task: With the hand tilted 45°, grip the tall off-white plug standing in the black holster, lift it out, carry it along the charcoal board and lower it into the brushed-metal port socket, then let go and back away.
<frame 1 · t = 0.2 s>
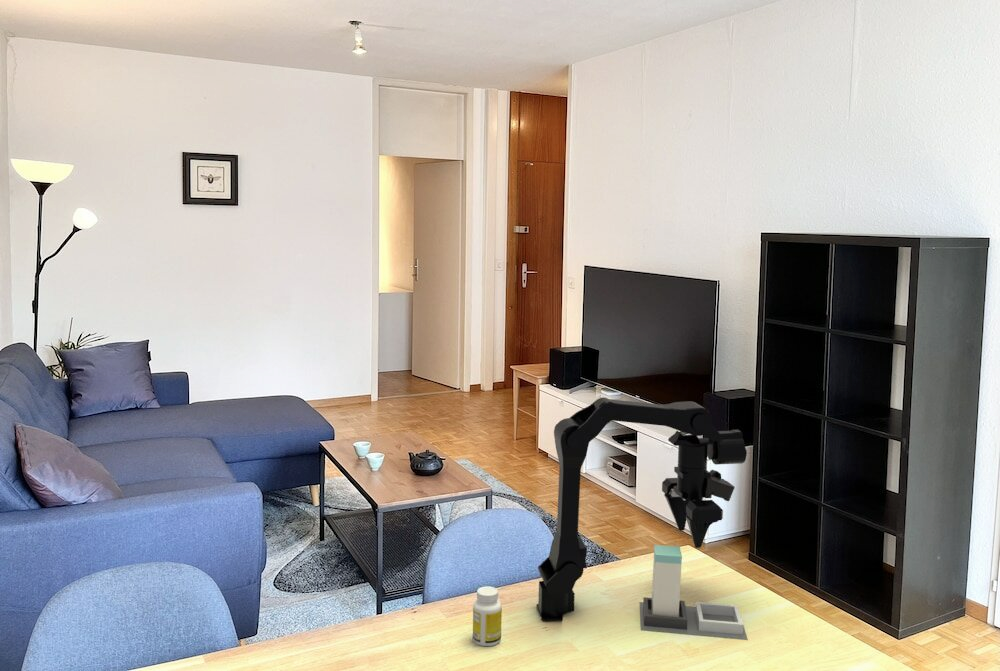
hand: (689, 538, 168), 15 cm above the table, tool pointing down, fingers open, 9 cm apart
board: (690, 624, 163), on the table
rook chess piece: (667, 588, 179), on the table
supplement bottle: (486, 640, 156), on the table
plug: (664, 617, 164), point 1 cm above the table, touching board
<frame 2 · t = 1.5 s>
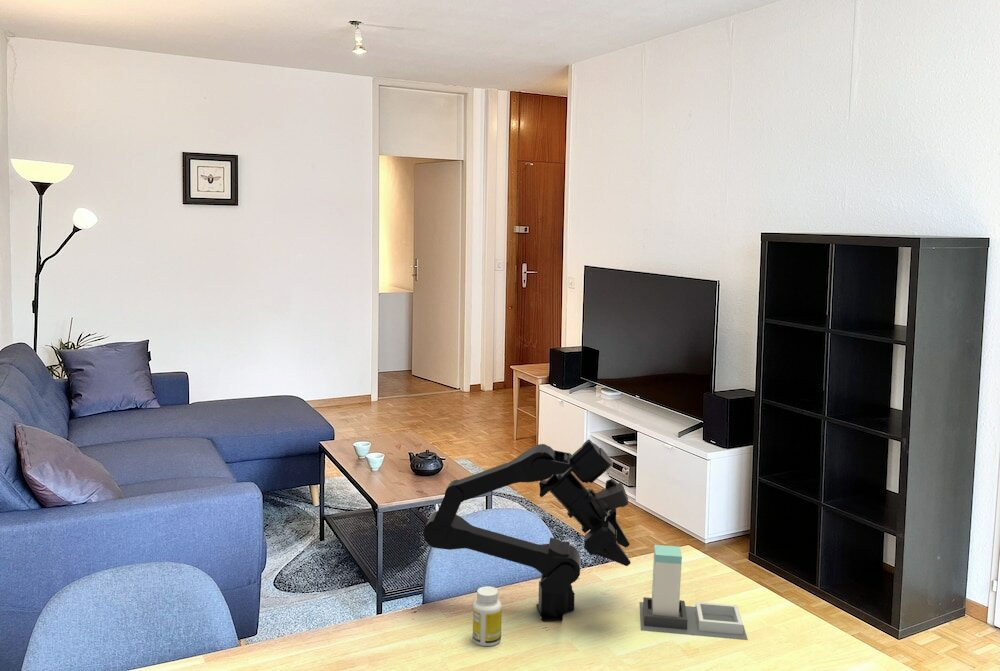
hand: (628, 554, 163), 14 cm above the table, tool tilted 45°, fingers open, 9 cm apart
nothing on the table moved.
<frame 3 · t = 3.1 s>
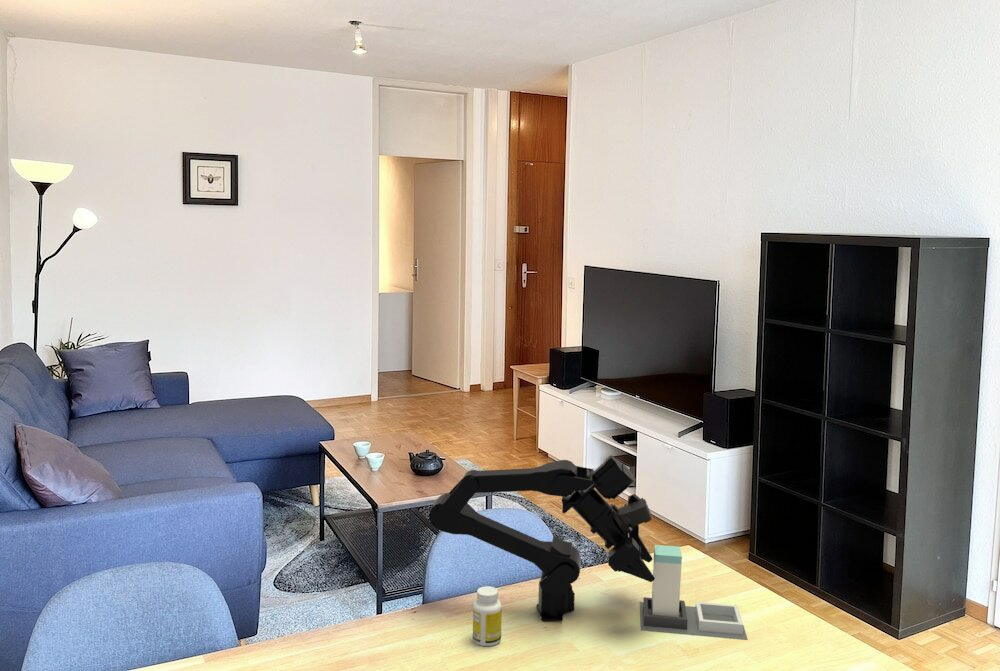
hand: (651, 570, 163), 11 cm above the table, tool tilted 45°, fingers open, 9 cm apart
nothing on the table moved.
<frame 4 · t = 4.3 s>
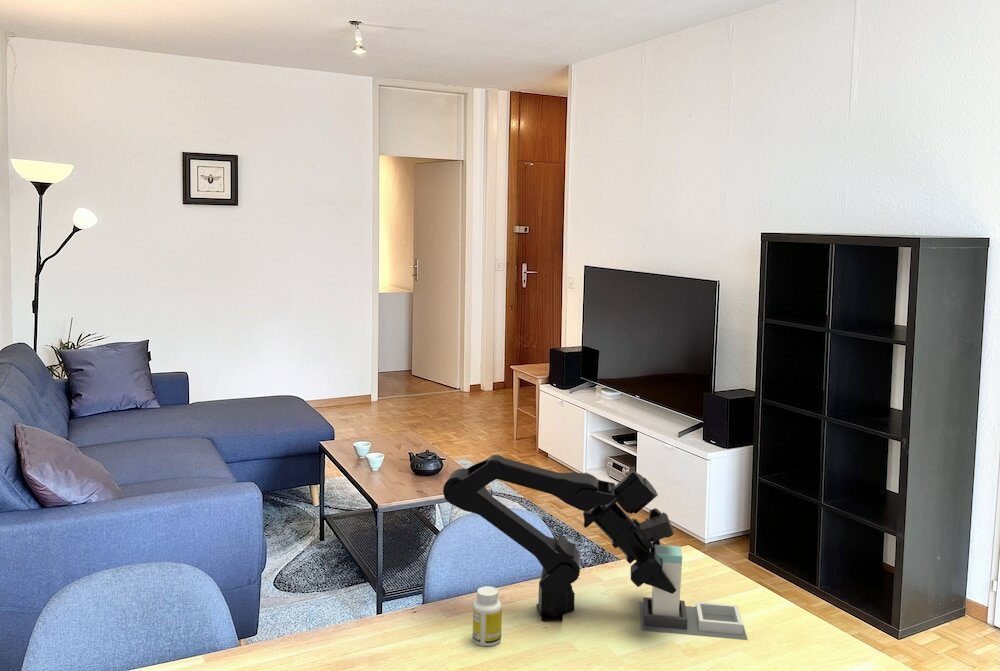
hand: (673, 585, 162), 8 cm above the table, tool tilted 45°, fingers open, 6 cm apart
plug: (664, 617, 164), point 1 cm above the table, touching board, gripper
everything else where it was.
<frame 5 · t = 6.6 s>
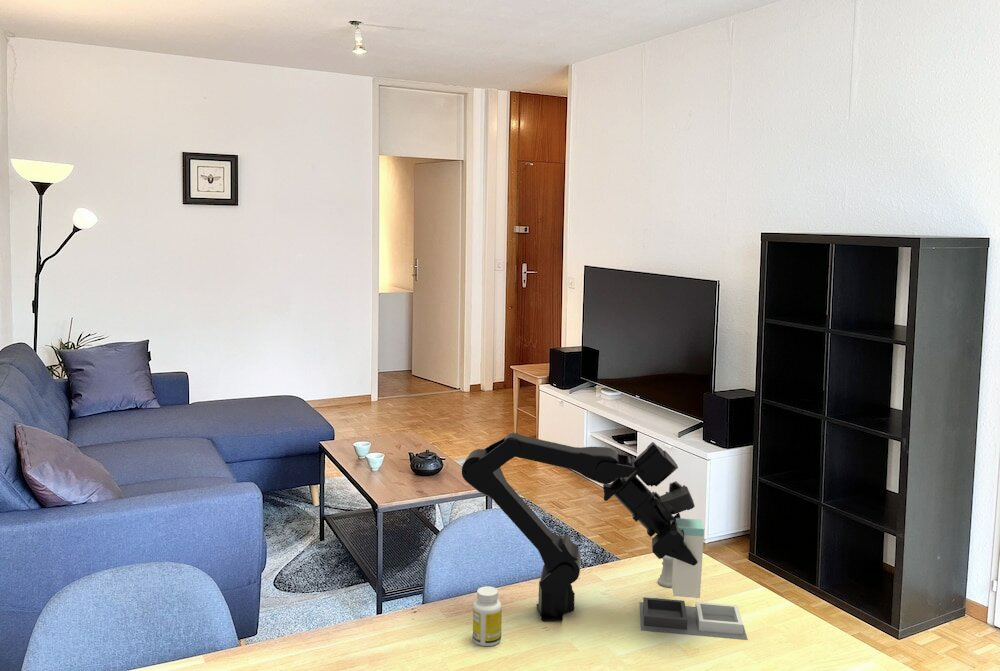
hand: (694, 558, 161), 14 cm above the table, tool tilted 45°, fingers closed on plug, 5 cm apart
plug: (685, 591, 162), point 7 cm above the table, touching gripper
everything else where it was.
when the fingers open (9 cm above the table, at t = 8.8 s): plug stays where it is, resting on board.
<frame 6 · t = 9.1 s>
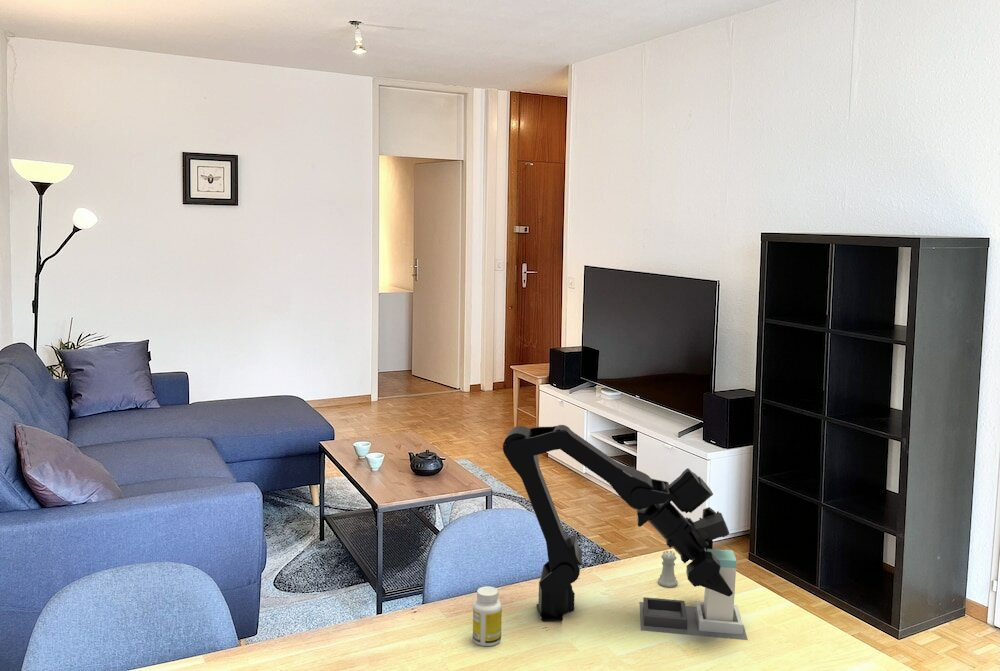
hand: (727, 584, 161), 9 cm above the table, tool tilted 45°, fingers open, 8 cm apart
plug: (717, 622, 162), point 1 cm above the table, touching board
everything else where it was.
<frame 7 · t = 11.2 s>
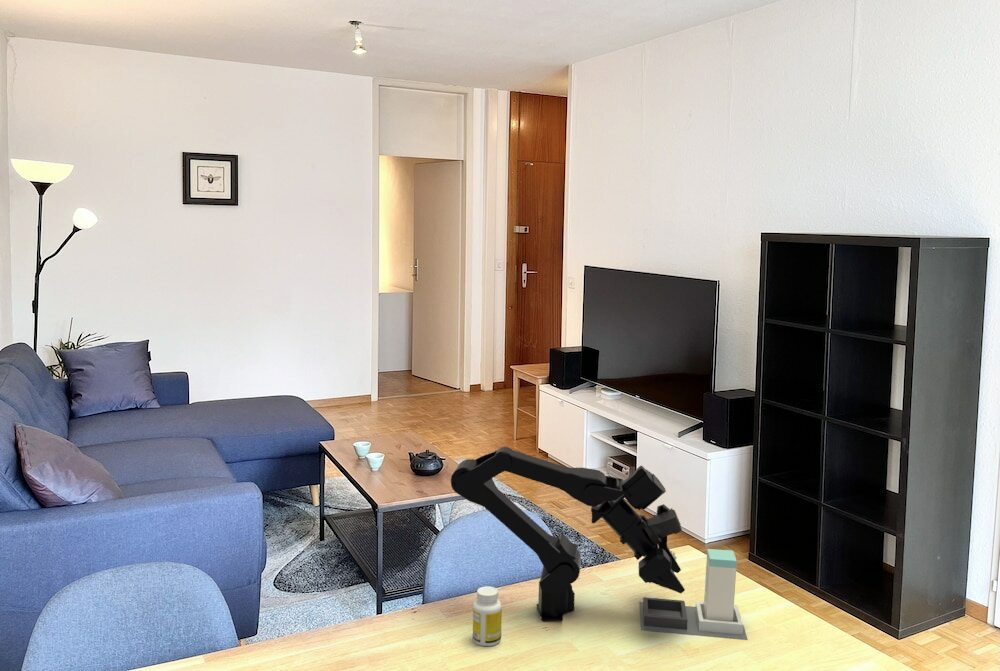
hand: (681, 581, 162), 9 cm above the table, tool tilted 45°, fingers open, 9 cm apart
nothing on the table moved.
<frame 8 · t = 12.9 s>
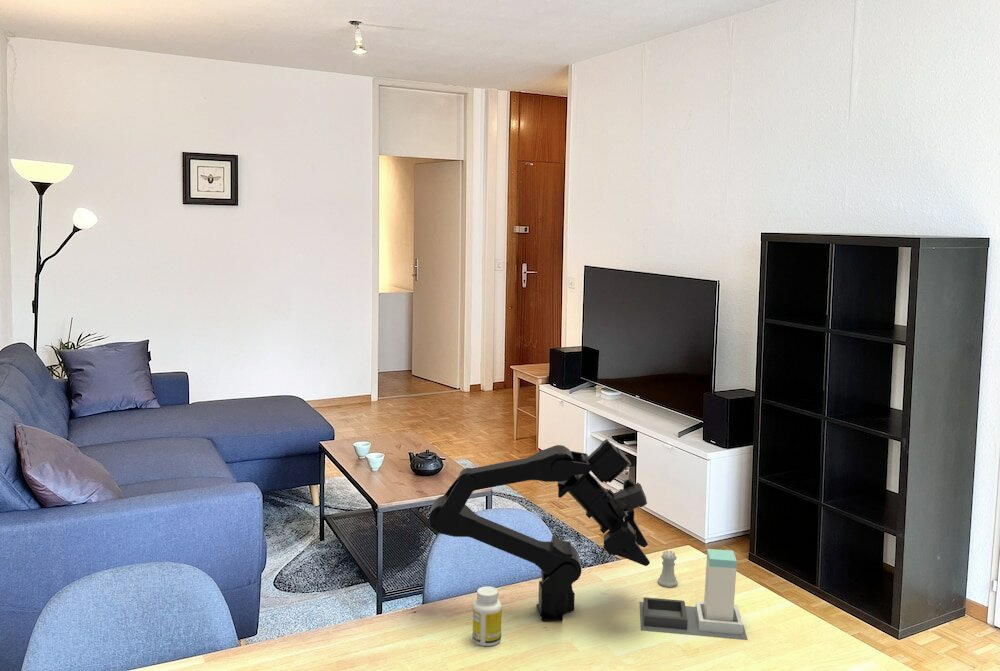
hand: (647, 554, 163), 14 cm above the table, tool tilted 45°, fingers open, 9 cm apart
nothing on the table moved.
at the end: plug 0.1 cm from the target spot on the board, point 1.0 cm above the board's base; plug tilted 0°; the gripper is holding nothing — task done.
